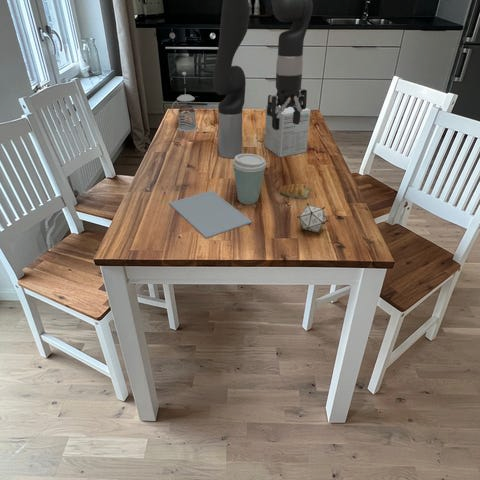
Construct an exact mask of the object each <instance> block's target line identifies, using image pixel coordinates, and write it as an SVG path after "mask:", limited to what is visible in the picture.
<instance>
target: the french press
mask: <svg viewBox="0 0 480 480" xmlns="http://www.w3.org/2000/svg"><path fill="white" fill-rule="evenodd" d="M181 75H183V79H184V80H183V81H184V83H186V77H185V76H186V75H187V72H186V71H183V72H182V73H181ZM186 91H187V90H186V89H184V94H180V95H179V96H178V97H177V98H176V100H175V101H174V102H173V103H172V105H171V113H172V115H173V116H174V117H175V118H176V119H178V120H177V121H178V126H177V128H178V130H177V131H179V132H182V131H184V133H191V131H192V132H195V130H196V131H197V130H198V129H199V127H198V126H197V124H196V123H197V122H196V119H197V118H196V110H195V106H194V105H191V104H190V105H189V104H185V105H183V104H182V105H180V106H178V107H177V108H178V112H177V113H178V114H177V115H176V113H174V110H173V109H174V108H173V107H174V105H175V104H176V105H179V102H182V103H188V102H193V101H195V97H194V96H192V95H191V94H186ZM197 128H198V129H197Z"/></svg>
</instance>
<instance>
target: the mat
mask: <svg viewBox="0 0 480 480" xmlns="http://www.w3.org/2000/svg"><path fill="white" fill-rule="evenodd" d="M168 205H170V206H171V208H173V209H174V210H175V212H177V213H178V214H180V216H181V217H182V218H184V220H186V221H187V222H188V223H189V224H190V225H191V226H192V228H194V229H195V230H196V231H197V232H198V233H199V234H200V235H201V236H202V237H203V238H204V239H209V238H212V237H215V236H218V235H220V234H223V233H227V232H229V231H232V230H235V229H238V228H240V227H243V226H246V225H249V224H252V223H253V220H251V219H250V218H249V217H247V216H246V215H245V214H243V213H242V211H240V210H238V209H237V208H236V207H234V206H233V205H231V204H230V203H229V202H228V201H226V200H225V199H224V198H222V197H221V196H220V195H219V194H217V193H216V192H215V191H213V190H208V191H205V192H201V193H197V194H194V195H191V196H188V197H185V198H181V199H177V200H173V201H170V202H168Z"/></svg>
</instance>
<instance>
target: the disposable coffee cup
mask: <svg viewBox="0 0 480 480" xmlns="http://www.w3.org/2000/svg"><path fill="white" fill-rule="evenodd" d="M232 159H233V160H232V167H233V171H234V180H235V187H236V194H237V199H238V201H239V203H241V204H243V205H253V204H256V203H257V202H258V200H259V198H260V197H259V196H260V193H261V188H262V185H263V184H262V183H263V180H264V176H265V170H266V168H267V161H266V159H265V158H264V157H263V156H260V155H258V154H255V153H242V154H239V155H237V156H235V158H232Z"/></svg>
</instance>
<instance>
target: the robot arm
mask: <svg viewBox="0 0 480 480" xmlns="http://www.w3.org/2000/svg"><path fill="white" fill-rule="evenodd" d="M270 3H271V8H272V11H273V15H274V17H275V19H277V20H278V21H279V22H281V23H292V25H291V27H290V28H289V29H288V30H285V31H282V32H281V33H279V36H278V46H277V47H278V48H277V59H276V71H275V89H276V94H275V95H272V94H269V95H267V115H268V116H271V117H272V128H273V129H275V130H279V124H280V118H279V117H280V115H281V113H282V112H283V111H284V110H285V108H288V107H292V108H293V109H294V112H293V124H296V125H297V124H299V122H300V114H301V112H302V110H303V109H306V108H307V99H308V98H307V97H308V90H307V89H304V88H302V80H303V78H302V77H303V65H304V61H303V55H304V41H305V36H306V33H307V30H308V27H309V25H310V24H309V23H310V21H311V17H312V14H313V8H314V7H313V6H314V5H313V0H270ZM250 14H251V6H250V2H249V0H222V8H221V16H220V30H219V39H218V48H217V54H216V60H215V62H214V63H215V64H214V69H213V77H212V84H213V88H214V91H215V93H216V94H218V95H220V96H225V97H224V99H223V100H221V101H220V102H219V103H218V106H217V107H218V108H217V109H218V110H217V111H218V113H217V115H218V129H217V147H218V148H217V149H218V154H219V156H220V157H223V158H224V159H226V158H227V159H235V156H237V155H239V154H243V152H242V151H243V108H244V105H245V102H246V101H245V98H246V85H247V83H246V75H245V72H244V70H243V68H242V67H241V66H239V65H233V60H234V57H235V54H236V53H237V51H238V49H239V47H240V46H241V44H242V42H243V41H244V39H245V36H246V35H247V32H248V29H249V28H248V27H249V22H250V16H251V15H250ZM279 105H280V106H281V107H279ZM271 109H272V111H271ZM277 111H278V112H277ZM276 112H277V113H276Z"/></svg>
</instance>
